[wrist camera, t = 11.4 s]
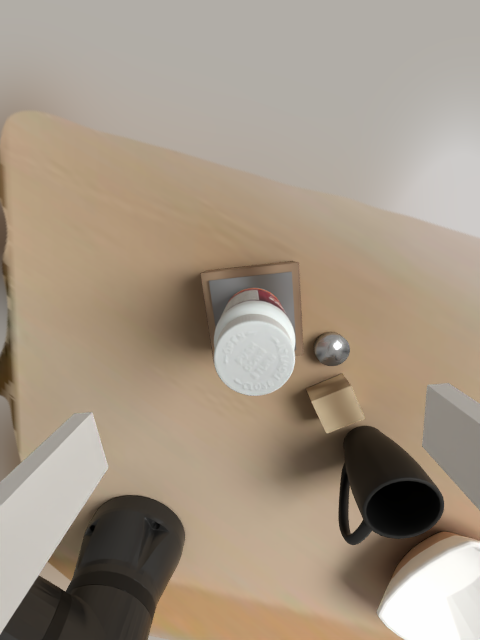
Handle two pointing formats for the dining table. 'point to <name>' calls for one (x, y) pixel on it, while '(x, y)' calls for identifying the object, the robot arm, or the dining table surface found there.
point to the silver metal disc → (331, 349)
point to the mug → (385, 488)
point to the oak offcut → (335, 403)
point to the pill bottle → (254, 343)
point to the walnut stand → (269, 277)
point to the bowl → (435, 591)
